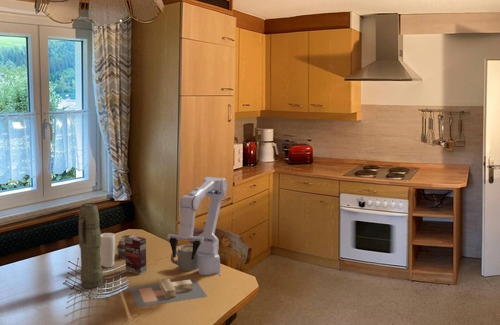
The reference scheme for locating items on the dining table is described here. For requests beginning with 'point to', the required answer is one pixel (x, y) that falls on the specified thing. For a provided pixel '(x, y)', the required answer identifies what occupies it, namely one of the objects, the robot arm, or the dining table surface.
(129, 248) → the supplement box
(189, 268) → the coffee mug
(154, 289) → the board
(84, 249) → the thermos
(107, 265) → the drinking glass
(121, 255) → the cupcake
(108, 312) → the dining table surface
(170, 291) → the t block
